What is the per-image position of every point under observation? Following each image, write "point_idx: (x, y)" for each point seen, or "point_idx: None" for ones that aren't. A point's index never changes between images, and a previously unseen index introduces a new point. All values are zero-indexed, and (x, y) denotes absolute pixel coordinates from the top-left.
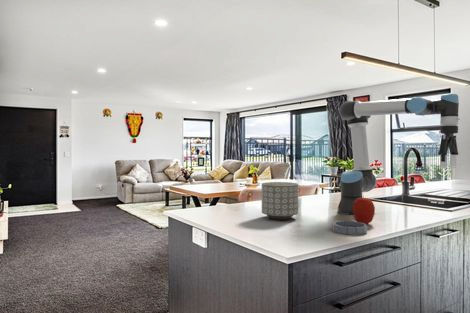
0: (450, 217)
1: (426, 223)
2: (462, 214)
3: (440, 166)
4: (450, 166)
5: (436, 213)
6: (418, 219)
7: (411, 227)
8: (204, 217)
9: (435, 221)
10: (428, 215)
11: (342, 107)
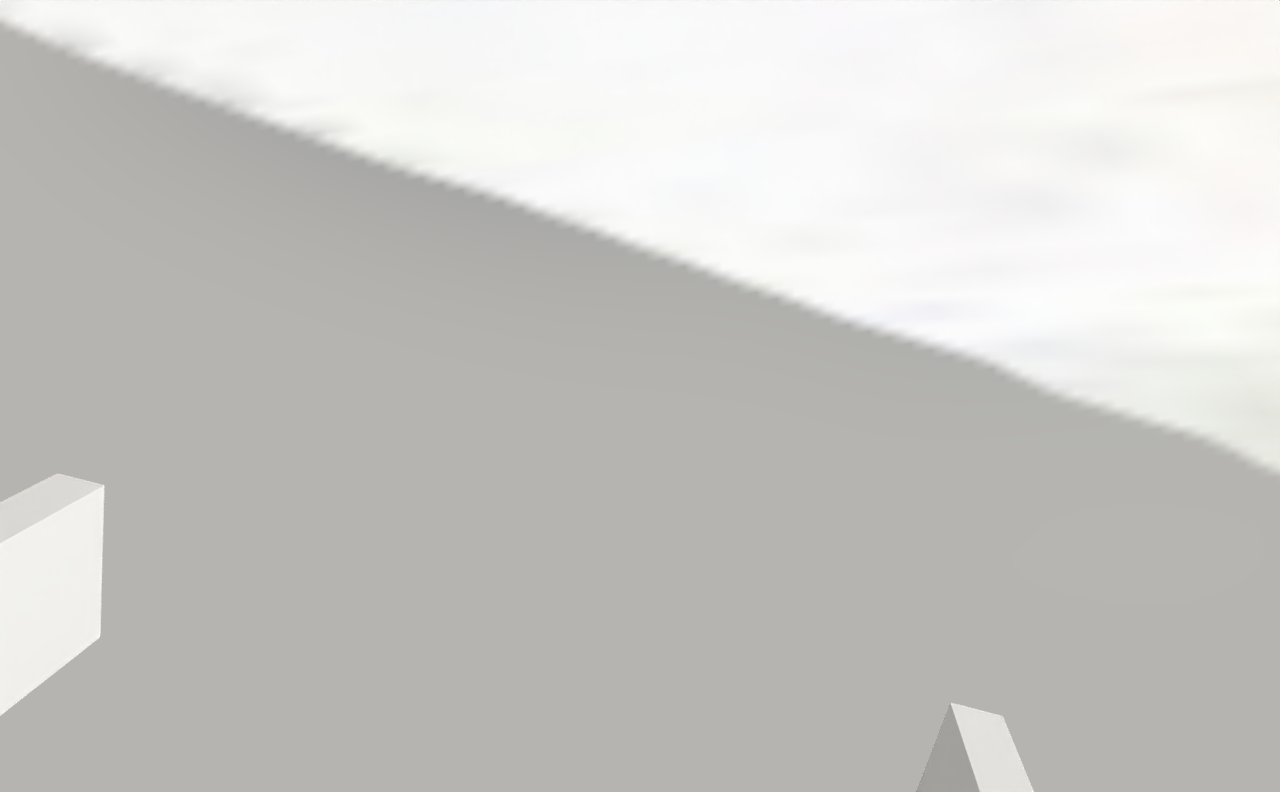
0: (933, 332)
1: (360, 131)
2: (1268, 449)
3: (6, 504)
4: (945, 751)
5: (1190, 151)
6: (554, 9)
7: (42, 26)
8: None
9: (546, 203)
10: (944, 76)
11: None
